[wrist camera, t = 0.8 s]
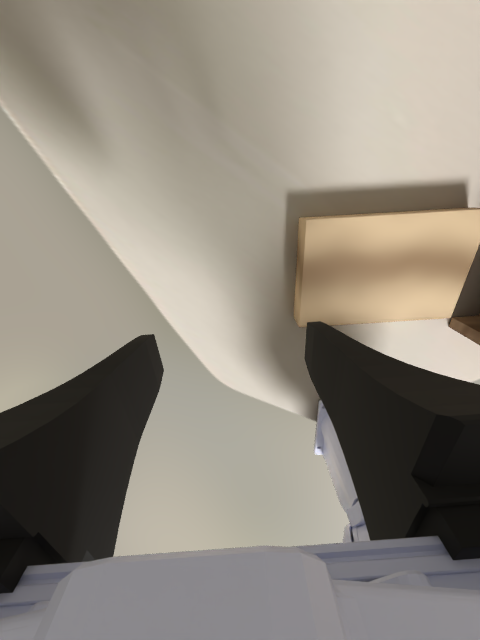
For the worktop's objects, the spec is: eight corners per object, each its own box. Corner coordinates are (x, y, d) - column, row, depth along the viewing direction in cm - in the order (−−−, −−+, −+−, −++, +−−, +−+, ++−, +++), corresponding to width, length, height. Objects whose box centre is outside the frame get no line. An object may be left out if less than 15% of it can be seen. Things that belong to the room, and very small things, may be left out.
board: (429, 306, 23) (450, 318, 21) (292, 314, 23) (299, 327, 20) (462, 207, 19) (493, 208, 17) (297, 217, 19) (306, 219, 17)
